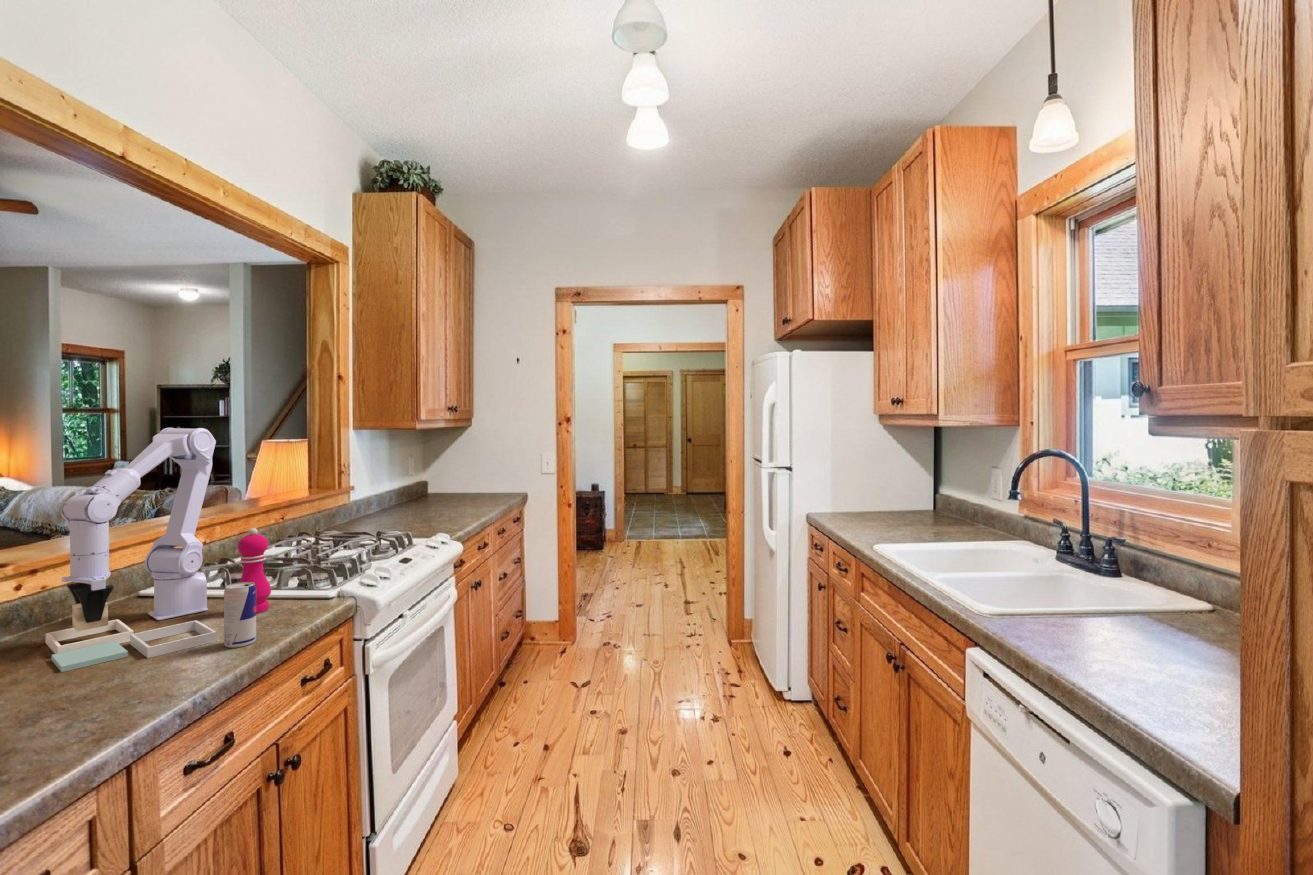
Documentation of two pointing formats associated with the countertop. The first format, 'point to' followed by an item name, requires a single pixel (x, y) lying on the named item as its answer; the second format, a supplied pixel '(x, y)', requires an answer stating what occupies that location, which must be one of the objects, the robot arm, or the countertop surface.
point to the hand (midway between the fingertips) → (90, 618)
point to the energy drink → (239, 614)
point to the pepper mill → (255, 566)
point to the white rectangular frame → (151, 651)
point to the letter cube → (79, 618)
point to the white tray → (73, 633)
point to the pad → (88, 656)
